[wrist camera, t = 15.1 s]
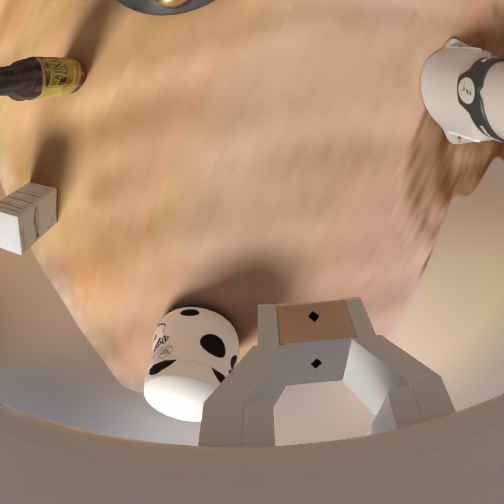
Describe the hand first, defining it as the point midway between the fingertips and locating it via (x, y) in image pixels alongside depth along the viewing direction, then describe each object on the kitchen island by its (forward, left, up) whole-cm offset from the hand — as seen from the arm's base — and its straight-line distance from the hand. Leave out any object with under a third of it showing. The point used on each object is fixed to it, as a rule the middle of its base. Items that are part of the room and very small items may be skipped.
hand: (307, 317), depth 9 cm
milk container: (+16, +39, -39) cm, 58 cm away
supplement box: (+42, +7, -39) cm, 58 cm away
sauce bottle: (+30, -14, -39) cm, 51 cm away
